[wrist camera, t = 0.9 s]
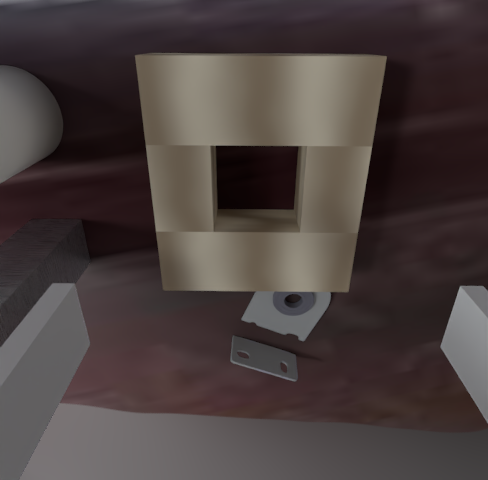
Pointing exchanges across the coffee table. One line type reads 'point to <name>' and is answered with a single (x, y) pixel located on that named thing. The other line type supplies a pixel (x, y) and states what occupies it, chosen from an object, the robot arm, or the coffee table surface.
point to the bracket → (278, 329)
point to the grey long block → (38, 266)
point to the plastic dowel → (26, 121)
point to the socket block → (258, 134)
